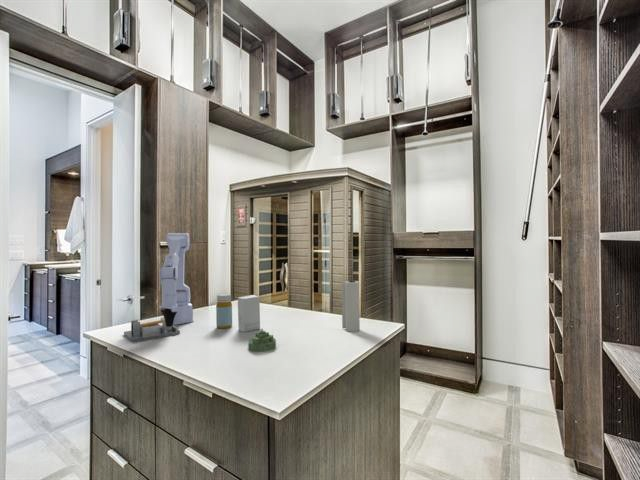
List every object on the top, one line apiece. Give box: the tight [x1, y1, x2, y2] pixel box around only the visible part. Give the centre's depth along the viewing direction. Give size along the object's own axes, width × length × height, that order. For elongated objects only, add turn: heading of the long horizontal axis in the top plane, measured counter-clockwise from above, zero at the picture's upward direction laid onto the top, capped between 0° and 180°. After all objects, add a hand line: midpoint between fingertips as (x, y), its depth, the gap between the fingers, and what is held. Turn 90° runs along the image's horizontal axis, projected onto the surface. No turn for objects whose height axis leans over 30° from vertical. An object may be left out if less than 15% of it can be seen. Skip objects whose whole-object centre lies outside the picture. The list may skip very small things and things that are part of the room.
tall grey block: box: [341, 280, 361, 333], centre depth 145 cm, size 7×6×21 cm
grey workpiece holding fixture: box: [123, 319, 181, 343], centre depth 142 cm, size 18×16×6 cm
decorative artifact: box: [248, 328, 277, 353], centre depth 123 cm, size 10×7×10 cm
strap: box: [140, 319, 162, 327], centre depth 143 cm, size 13×2×1 cm, turn 132°
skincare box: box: [237, 294, 261, 333], centre depth 148 cm, size 8×6×15 cm
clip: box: [160, 316, 172, 331], centre depth 145 cm, size 3×6×5 cm, turn 42°
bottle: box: [215, 293, 233, 330], centre depth 153 cm, size 7×7×15 cm
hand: (169, 326), depth 142 cm, fingers closed
